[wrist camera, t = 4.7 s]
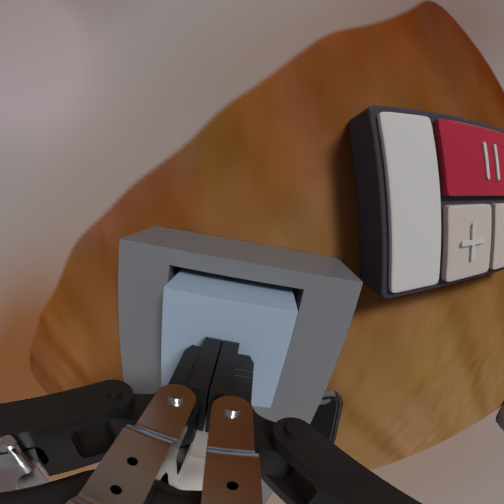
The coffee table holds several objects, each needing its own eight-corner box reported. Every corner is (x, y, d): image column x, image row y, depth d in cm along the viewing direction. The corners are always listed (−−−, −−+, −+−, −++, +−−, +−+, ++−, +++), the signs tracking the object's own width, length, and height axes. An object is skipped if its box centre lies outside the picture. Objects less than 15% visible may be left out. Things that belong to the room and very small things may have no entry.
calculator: (524, 267, 13) (386, 306, 14) (493, 256, 18) (359, 282, 18) (520, 131, 11) (372, 100, 11) (488, 136, 15) (345, 119, 16)
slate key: (289, 281, 15) (298, 311, 11) (269, 365, 16) (270, 408, 12) (188, 263, 15) (163, 286, 11) (180, 348, 16) (161, 386, 12)
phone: (161, 396, 20) (344, 395, 19) (165, 388, 21) (341, 386, 20) (180, 449, 21) (332, 449, 20) (183, 441, 22) (331, 441, 22)
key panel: (337, 258, 17) (362, 282, 12) (261, 476, 23) (260, 510, 18) (156, 225, 17) (119, 238, 12) (157, 457, 23) (145, 488, 18)
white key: (259, 419, 15) (257, 466, 11) (245, 462, 16) (241, 501, 12) (172, 403, 15) (154, 446, 11) (173, 448, 16) (160, 485, 12)
